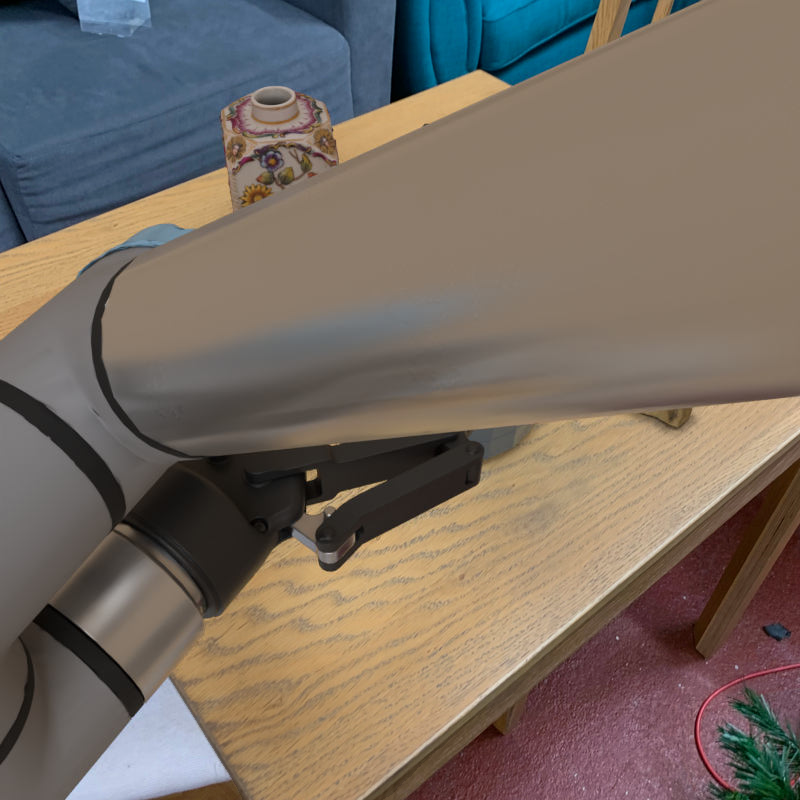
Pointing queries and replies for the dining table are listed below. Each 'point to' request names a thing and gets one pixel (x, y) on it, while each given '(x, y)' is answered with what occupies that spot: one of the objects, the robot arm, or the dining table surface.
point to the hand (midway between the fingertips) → (395, 314)
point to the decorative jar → (274, 142)
